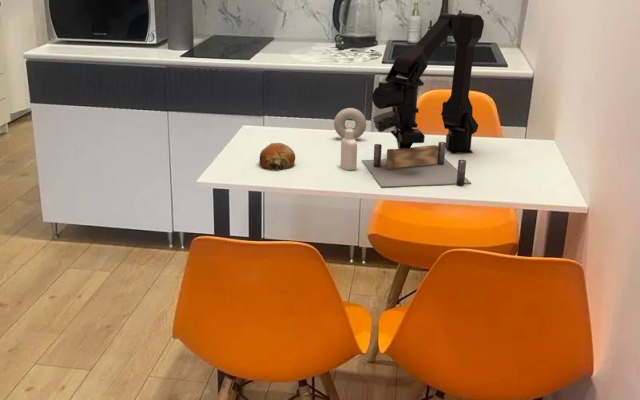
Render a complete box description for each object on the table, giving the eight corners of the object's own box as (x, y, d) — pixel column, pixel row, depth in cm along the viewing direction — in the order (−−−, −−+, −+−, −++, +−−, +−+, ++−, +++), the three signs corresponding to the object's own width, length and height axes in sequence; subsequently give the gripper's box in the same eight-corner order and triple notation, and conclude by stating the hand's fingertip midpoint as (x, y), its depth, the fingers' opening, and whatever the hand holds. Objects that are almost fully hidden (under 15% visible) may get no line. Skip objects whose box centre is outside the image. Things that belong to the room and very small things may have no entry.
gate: (434, 161, 200) (435, 144, 198) (437, 163, 198) (438, 146, 197) (386, 166, 195) (386, 149, 193) (389, 168, 193) (390, 151, 191)
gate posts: (442, 164, 201) (444, 141, 199) (465, 185, 185) (467, 161, 182) (372, 166, 198) (373, 144, 196) (389, 189, 181) (390, 164, 179)
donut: (365, 138, 224) (367, 107, 220) (365, 141, 221) (366, 110, 217) (334, 137, 225) (334, 106, 221) (333, 140, 221) (333, 108, 218)
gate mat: (443, 158, 206) (443, 157, 206) (471, 184, 186) (471, 182, 186) (362, 161, 202) (362, 160, 202) (381, 187, 182) (381, 186, 182)
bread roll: (298, 176, 200) (304, 148, 201) (283, 171, 191) (289, 142, 191) (267, 171, 204) (272, 143, 204) (250, 165, 195) (256, 137, 195)
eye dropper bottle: (356, 164, 199) (357, 122, 195) (356, 171, 194) (357, 128, 190) (340, 164, 200) (341, 122, 195) (340, 170, 194) (341, 127, 190)
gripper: (369, 95, 200) (366, 148, 206) (385, 112, 183) (381, 170, 189) (407, 94, 202) (403, 147, 207) (427, 112, 185) (422, 169, 190)
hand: (402, 158), depth 198 cm, fingers closed
